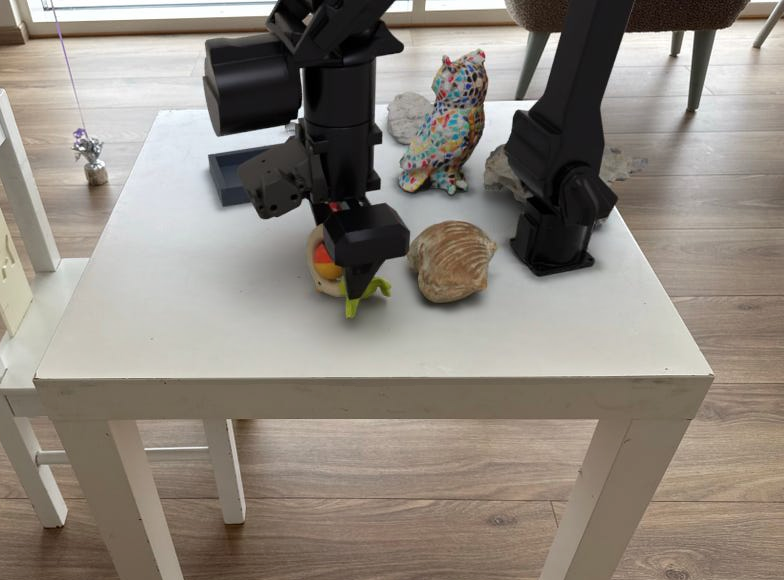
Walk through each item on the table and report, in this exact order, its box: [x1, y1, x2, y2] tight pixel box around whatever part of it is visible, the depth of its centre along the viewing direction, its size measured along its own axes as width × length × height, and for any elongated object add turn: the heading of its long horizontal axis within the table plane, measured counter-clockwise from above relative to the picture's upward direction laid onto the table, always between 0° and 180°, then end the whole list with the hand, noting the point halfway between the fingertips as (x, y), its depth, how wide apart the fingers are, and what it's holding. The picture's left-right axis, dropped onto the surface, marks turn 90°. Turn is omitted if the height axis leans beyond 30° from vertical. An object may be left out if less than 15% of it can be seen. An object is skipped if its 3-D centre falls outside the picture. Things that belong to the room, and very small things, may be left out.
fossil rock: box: [482, 143, 649, 227], centre depth 82 cm, size 20×6×15 cm
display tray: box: [207, 142, 285, 207], centre depth 89 cm, size 12×9×2 cm
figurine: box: [397, 48, 489, 195], centre depth 83 cm, size 9×9×15 cm
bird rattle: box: [305, 202, 392, 319], centre depth 68 cm, size 6×11×9 cm
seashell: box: [405, 219, 499, 304], centre depth 71 cm, size 9×7×8 cm
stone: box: [386, 91, 433, 145], centre depth 98 cm, size 10×5×10 cm
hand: (340, 272), depth 69 cm, fingers closed on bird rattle, 8 cm apart
